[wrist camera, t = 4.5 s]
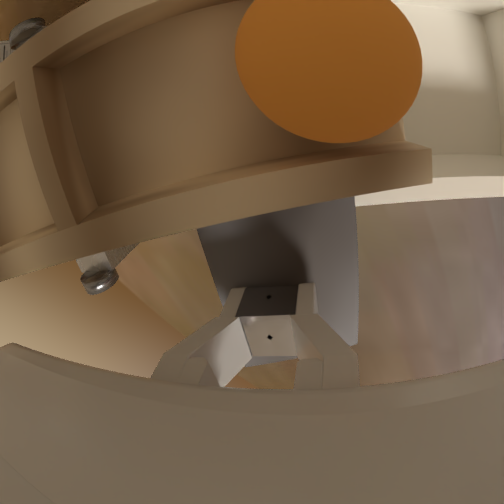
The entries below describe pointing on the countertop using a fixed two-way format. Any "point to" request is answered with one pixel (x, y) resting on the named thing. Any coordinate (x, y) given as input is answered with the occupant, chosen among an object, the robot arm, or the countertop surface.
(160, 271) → the countertop surface
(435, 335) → the countertop surface
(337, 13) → the ball
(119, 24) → the lever
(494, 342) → the countertop surface
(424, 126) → the white open tray
